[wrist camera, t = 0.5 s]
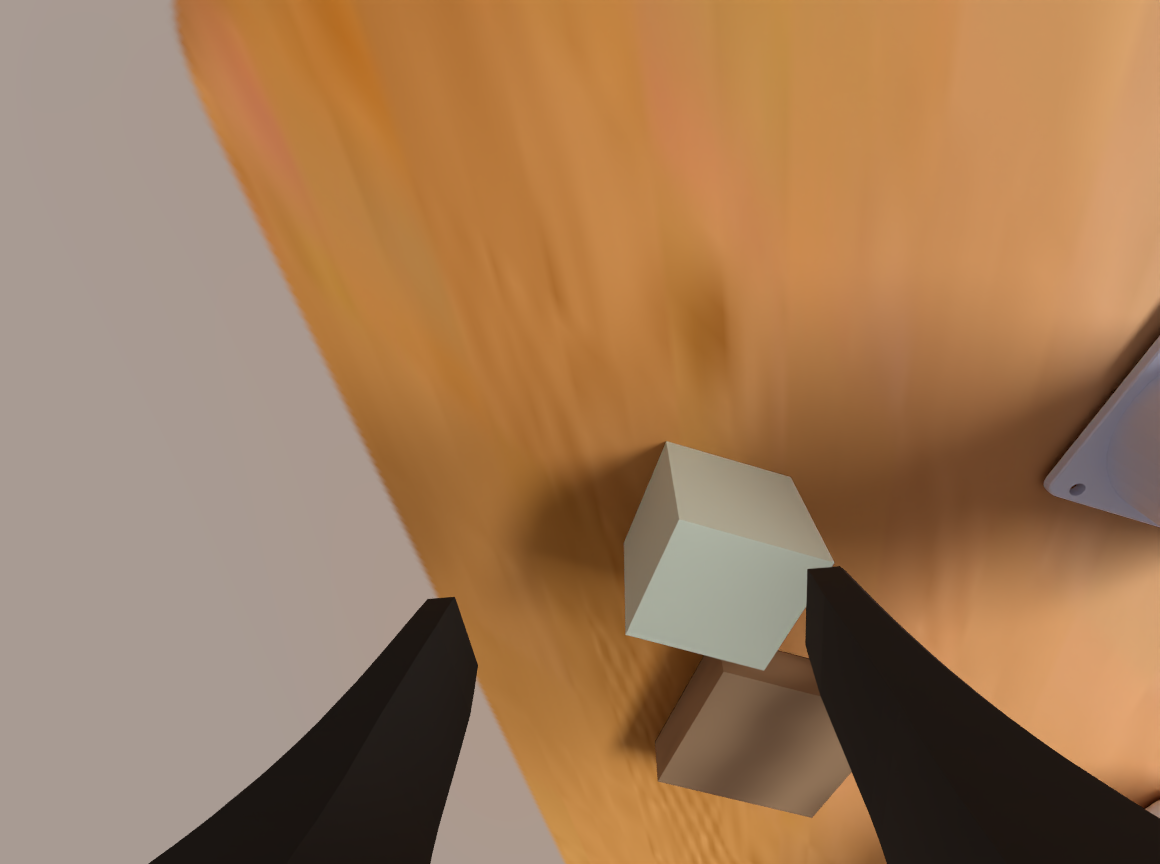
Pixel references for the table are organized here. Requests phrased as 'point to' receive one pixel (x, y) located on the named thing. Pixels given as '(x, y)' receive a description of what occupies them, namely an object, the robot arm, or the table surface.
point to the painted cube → (718, 558)
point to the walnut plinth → (754, 736)
